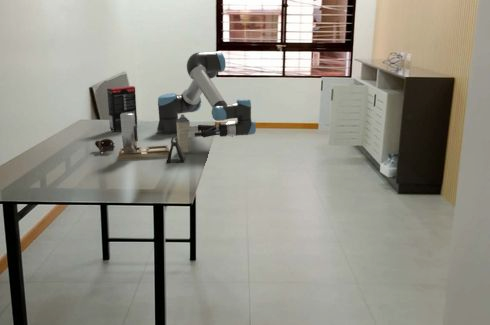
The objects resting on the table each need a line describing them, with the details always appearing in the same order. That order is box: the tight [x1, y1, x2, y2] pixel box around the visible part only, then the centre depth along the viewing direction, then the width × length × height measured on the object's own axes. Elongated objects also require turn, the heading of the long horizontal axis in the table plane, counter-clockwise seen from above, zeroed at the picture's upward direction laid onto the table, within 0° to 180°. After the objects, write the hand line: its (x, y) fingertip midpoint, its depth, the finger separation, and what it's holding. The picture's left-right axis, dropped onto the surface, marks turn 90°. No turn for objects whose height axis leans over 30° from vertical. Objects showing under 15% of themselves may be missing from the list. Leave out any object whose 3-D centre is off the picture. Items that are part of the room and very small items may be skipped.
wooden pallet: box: [117, 144, 170, 161], centre depth 272 cm, size 11×26×4 cm, turn 101°
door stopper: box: [165, 136, 186, 164], centre depth 259 cm, size 9×6×12 cm, turn 93°
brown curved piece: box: [94, 138, 116, 153], centre depth 282 cm, size 12×10×8 cm
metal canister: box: [120, 113, 139, 153], centre depth 268 cm, size 7×8×20 cm
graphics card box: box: [106, 85, 138, 132], centre depth 334 cm, size 17×7×27 cm, turn 133°
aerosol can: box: [176, 113, 192, 154], centre depth 276 cm, size 7×7×20 cm
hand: (186, 131), depth 276 cm, fingers open, 13 cm apart
